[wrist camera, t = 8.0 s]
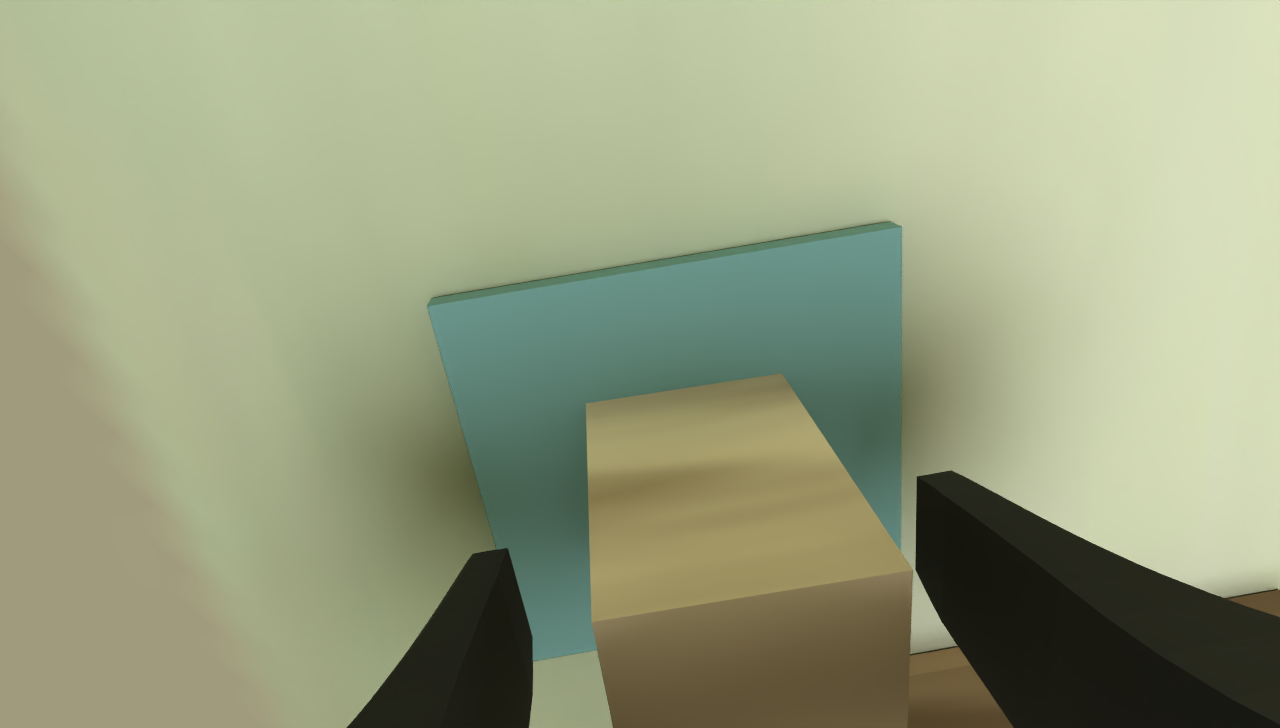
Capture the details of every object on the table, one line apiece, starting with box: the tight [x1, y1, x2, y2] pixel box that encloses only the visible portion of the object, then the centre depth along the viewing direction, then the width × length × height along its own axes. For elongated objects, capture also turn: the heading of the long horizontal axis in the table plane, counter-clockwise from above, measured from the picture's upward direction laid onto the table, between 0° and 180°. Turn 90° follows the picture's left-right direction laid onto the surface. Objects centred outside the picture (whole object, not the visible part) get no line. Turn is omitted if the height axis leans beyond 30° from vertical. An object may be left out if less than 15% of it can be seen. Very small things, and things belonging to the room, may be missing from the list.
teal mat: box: [427, 222, 902, 661], centre depth 15 cm, size 9×9×1 cm
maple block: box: [586, 373, 913, 728], centre depth 12 cm, size 4×4×6 cm
